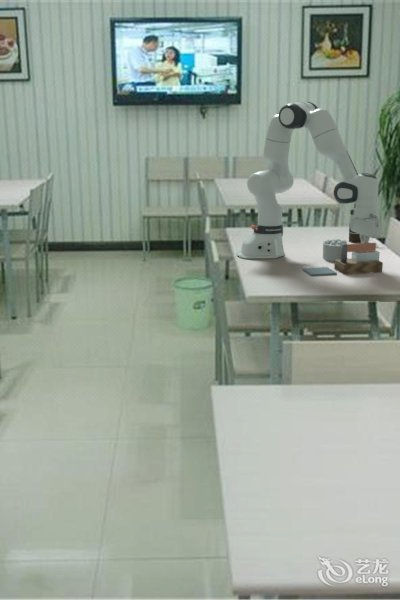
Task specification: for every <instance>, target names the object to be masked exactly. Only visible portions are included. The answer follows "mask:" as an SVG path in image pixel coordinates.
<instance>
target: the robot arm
mask: <svg viewBox="0 0 400 600" xmlns="http://www.w3.org/2000/svg"><path fill="white" fill-rule="evenodd" d="M303 128H305V129H307V130H308V131H309V133H310V135H311V139H312V141H313V143H314V146H315V148H316V150H317V151H318V153H319V154H320V155H321V156H324V157H327V158H328V159H330V160H332V161H333V162H334V163H335V164H336V165H337V168H338V170H339V172H340V174H341V177H342V179H343V181H340V182H338V183H337V184H336V185H335V186H334V188H333V196H334V199H335V201H336V202H337V203H339V204H343V205H348V204H353V203H354V204H356V206H355V208H354V207H353V208H352V209H349V215H350V216H349V224H350V229H351V231H353V232H356V233H359V234H360V239H361V242H360V243H369V241H370V239H379V238H380V237H381V234H382V233H381V230H382V229H381V220H380V218H379V217H378V215H377V214H378V213H377V212H378V201H377V200H378V196H379V181H378V177H377V176H376V175H375V174H373V173H368V172H361V173H358V171H357V169H356V167H355V164H354V163H353V159H351V156H350V154H349V151H348V150H347V148H346V146H345V143H344V142H343V139H342V136H341V134H340V132H339V129H338V127H337V124H336V122H335V119H334V118H333V117H332V114H331V113H330V112H329V110H328V109H327V108H324V107H322V108H319V107H318V106H317V104H315V103H313V102H310V101H296V102H289V103H287V104H284V106H281V108H280V110H279V112H278V114H277V113H276V114H274V115H273V116H272V117H271V119H270V120H269V124H268V127H267V130H266V136H265V141H264V147H263V153H262V154H263V155H262V156H263V158H264V159H265V160H266V162H267V169H266V170H259V171H256V172H254V173H252V174H250V175H249V177H248V178H247V182H246V184H247V185H246V186H247V189H248V191H249V193H250V194H252V195H253V197H254V200H255V202H256V206H257V224H256V225H255V224H251V226H250V228H251V229H252V230H253V232H252V234H251V235H248V237H246V238H245V239H243V240H242V243H241V249H240V250H238V251H236V253H235V254H236V256H237V257H238V256H239V257H238V258H241V259H245V260H246V259H249V260H250V259H278V258H280V257H283V256H285V255H286V254H285V248H284V244H283V235H284V225H283V207H282V206H281V204H279V203H278V201H277V198H276V194H282V193H285V192H287V191H289V190H291V189H292V187H293V185H294V176H293V174H292V172H291V171H290V167H289V152H290V148H291V147H290V146H291V141H292V140H291V139H292V135H293V132H294V130H296V129H297V130H298V129H300V130H301V129H303Z"/></svg>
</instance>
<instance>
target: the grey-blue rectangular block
mask: <svg viewBox="0 0 400 600" xmlns="http://www.w3.org/2000/svg"><path fill="white" fill-rule="evenodd" d="M351 259H352V261H354V262H356V263H358V262H377V261H380V251H379V250H376V251H357V252H351Z"/></svg>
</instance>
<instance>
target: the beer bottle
mask: <svg viewBox="0 0 400 600" xmlns="http://www.w3.org/2000/svg"><path fill="white" fill-rule="evenodd" d="M355 206H356V204H355V203H354V207H353V209H354V208H355ZM348 226H349V227H348V228H349V229H348V242H350V243H353V244H359V243H361V239H360V234H359V233H356V232H353V231H351V229H350V223H349V225H348Z"/></svg>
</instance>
